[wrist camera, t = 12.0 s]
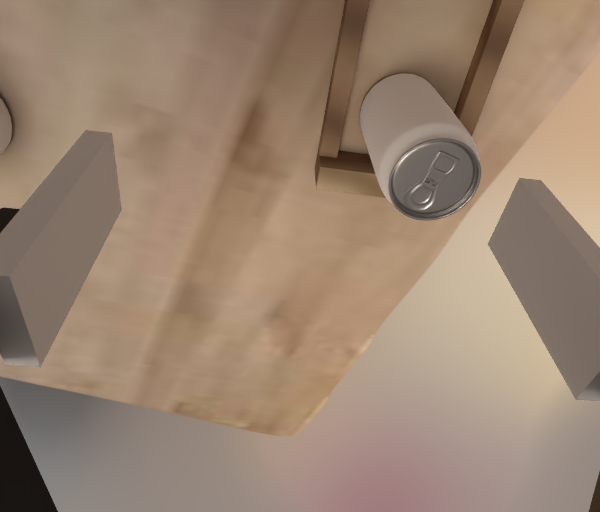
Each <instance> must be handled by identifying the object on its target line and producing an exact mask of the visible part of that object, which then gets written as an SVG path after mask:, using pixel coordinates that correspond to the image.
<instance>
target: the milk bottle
mask: <svg viewBox="0 0 600 512" xmlns="http://www.w3.org/2000/svg"><path fill="white" fill-rule="evenodd" d="M11 136H12V122H11V117H10V114H9V111H8V109H7V107H6V106H5V104H4V102H3V100H2V99H1V98H0V154H1V153H2V152H3V151H4V150H5V149H6V148H7V147H8V145H9V143H10V140H11Z"/></svg>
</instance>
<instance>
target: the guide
mask: <svg viewBox="0 0 600 512" xmlns="http://www.w3.org/2000/svg"><path fill="white" fill-rule="evenodd" d="M369 2H370V0H345V5H344V10H343V16H342V21H341V27H340V32H339V38H338V43H337V49H336V54H335V60H334V65H333V71H332V77H331V82H330V88H329V93H328V99H327V104H326V110H325V115H324V121H323V126H322V132H321V137H320V143H319V148H318V154H317V159H316V165H315V179H316V189H321V190H329V191H337V192H345V193H353V194H361V195H369V196H376V197H384V198H386V197H385V196H384V194H383V192H382V190H381V188H380V186H379V183H378V180H377V177H376V174H375V171H374V168H373V165H372V162H371V158H370V155H366V154H358V153H351V152H343V151H339V146H340V141H341V136H342V131H343V127H344V122H345V117H346V112H347V107H348V103H349V98H350V93H351V88H352V84H353V79H354V74H355V69H356V64H357V60H358V55H359V50H360V45H361V41H362V36H363V31H364V26H365V21H366V17H367V12H368V7H369ZM523 2H524V0H493V3H492V6H491V9H490V12H489V15H488V17H487V20H486V23H485V26H484V29H483V32H482V35H481V37H480V40H479V43H478V46H477V49H476V52H475V55H474V57H473V60H472V63H471V66H470V69H469V72H468V75H467V77H466V80H465V83H464V86H463V89H462V92H461V94H460V97H459V100H458V103H457V106H456V109H455V112H454V114H455V115H456V116H457V118H458V119H459V120H460V122H461V123H462V124H463V126H464V127H465V128H466V130H467V131H468V132H469V134H470V135H471V136H472V134H473V132H474V129H475V127H476V124H477V121H478V119H479V116H480V114H481V111H482V108H483V106H484V103H485V101H486V98H487V95H488V93H489V90H490V88H491V85H492V83H493V80H494V77H495V75H496V72H497V70H498V67H499V64H500V62H501V59H502V57H503V54H504V51H505V49H506V46H507V44H508V41H509V38H510V36H511V33H512V31H513V28H514V26H515V23H516V20H517V18H518V15H519V13H520V10H521V7H522V5H523Z"/></svg>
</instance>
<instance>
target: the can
mask: <svg viewBox="0 0 600 512" xmlns="http://www.w3.org/2000/svg"><path fill="white" fill-rule="evenodd" d="M360 125H361V129H362V133H363V136H364V139H365V142H366V146H367V149H368V152H369V155H370V158H371V162H372V165H373V168H374V171H375V174H376V177H377V180H378V183H379V186H380V188H381V190H382V192H383V194H384V196H385V197H386V198H387V199H388V201H389V202H390V203H392V204H393V205H394V206H395V207H396V208H397V209H398V210H399V211H400V212H401V213H403V214H404V215H406V216H408V217H410V218H413V219H417V220H436V219H440V218H444V217H446V216H449V215H451V214H453V213H455V212H456V211H458V210H459V209H461V208H462V207H463V206H464V205H466V204H467V203H468V202H469V200H470V199H471V198H472V197H473V195H474V194H475V192H476V190H477V188H478V185H479V182H480V177H481V167H480V162H479V152H478V148H477V146H476V144H475V141H474V140H473V138H472V136H471V135H470V134H469V132H468V131H467V130H466V128H465V127H464V126H463V124H462V123H461V122H460V120H459V119H458V118H457V116H456V115H455V114H454V113H453V111H452V110H451V109H450V107H449V106H448V105H447V104H446V102H445V101H444V100H443V99H442V97H441V96H440V95H439V94H438V92H437V91H436V90H435V89H434V87H433V86H432V85H431V84H430V83H429V82H428V81H426V80H425V79H423V78H422V77H420V76H417V75H414V74H407V73H403V74H396V75H392V76H389V77H387V78H385V79H383V80H381V81H380V82H378V83H377V84H376V85H375V86H374V87H373V88H372V89H371V90H370V91H369V92H368V94H367V95H366V97H365V99H364V101H363V103H362V106H361V110H360Z"/></svg>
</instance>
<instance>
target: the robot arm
mask: <svg viewBox="0 0 600 512" xmlns="http://www.w3.org/2000/svg"><path fill="white" fill-rule="evenodd" d="M120 211H121V201H120V193H119V185H118V177H117V170H116V162H115V154H114V146H113V138H112V133H106V132H97V131H88V130H86V131H85V132H84V133H83V134H82V135H81V137H80V138H79V139H78V140H77V141H76V143H75V144H74V145H73V146H72V147H71V149H70V150H69V151H68V152H67V153H66V155H65V156H64V157H63V158H62V159H61V161H60V162H59V163H58V164H57V165H56V167H55V168H54V169H53V170H52V172H51V173H50V174H49V175H48V176H47V178H46V179H45V180H44V181H43V182H42V184H41V185H40V186H39V187H38V188H37V190H36V191H35V192H34V193H33V194H32V196H31V197H30V198H29V199H28V200H27V202H26V203H25V204H24V205H23V206H22V208H21V209H12V208H2V209H0V353H1V356H2V358H3V360H4V363H5V365H18V366H34V367H41V365H42V363H43V361H44V359H45V357H46V355H47V353H48V351H49V349H50V347H51V346H52V344H53V342H54V340H55V338H56V336H57V334H58V332H59V330H60V328H61V326H62V324H63V322H64V320H65V318H66V316H67V314H68V312H69V311H70V309H71V307H72V305H73V303H74V301H75V299H76V297H77V295H78V293H79V291H80V289H81V287H82V285H83V283H84V281H85V279H86V277H87V275H88V274H89V272H90V270H91V268H92V266H93V264H94V262H95V260H96V258H97V256H98V254H99V252H100V250H101V248H102V246H103V244H104V242H105V240H106V239H107V237H108V235H109V233H110V231H111V229H112V227H113V225H114V223H115V221H116V219H117V217H118V215H119V213H120ZM488 245H489V246H490V249H491V250H492V252H493V254H494V255H495V257H496V259H497V261H498V263H499V265H500V266H501V268H502V270H503V272H504V273H505V275H506V277H507V279H508V280H509V282H510V284H511V286H512V288H513V289H514V291H515V292H516V294H517V296H518V298H519V300H520V302H521V303H522V305H523V307H524V309H525V311H526V312H527V314H528V316H529V318H530V319H531V321H532V323H533V325H534V327H535V328H536V330H537V332H538V333H539V335H540V337H541V339H542V341H543V342H544V344H545V346H546V348H547V349H548V351H549V353H550V355H551V356H552V358H553V360H554V362H555V364H556V365H557V367H558V369H559V371H560V373H561V374H562V376H563V378H564V380H565V381H566V383H567V385H568V387H569V388H570V390H571V392H572V394H573V396H574V397H575V399H576V400H591V401H600V248H599V247H598V245H597V244H596V243H595V242H594V241H593V240H592V239H591V237H590V236H589V235H588V234H587V233H586V232H585V231H584V229H583V228H582V227H581V226H580V225H579V224H578V222H577V221H576V220H575V219H574V218H573V217H572V216H571V214H570V213H569V212H568V211H567V210H566V209H565V208H564V206H563V205H562V204H561V203H560V202H559V201H558V199H557V198H556V197H555V196H554V195H553V194H552V192H551V191H550V190H549V189H548V188H547V187H546V186H545V184H544V183H543V182H542V181H541V180H533V179H523V178H519V180H518V182H517V184H516V186H515V188H514V190H513V192H512V194H511V197H510V199H509V201H508V203H507V205H506V207H505V209H504V211H503V213H502V215H501V218H500V220H499V222H498V224H497V226H496V228H495V230H494V232H493V234H492V236H491V239H490V241H489V243H488ZM0 512H58V511H57V509H56V507H55V504H54V502H53V500H52V498H51V496H50V494H49V491H48V489H47V487H46V485H45V483H44V480H43V478H42V476H41V475H40V472H39V470H38V468H37V465H36V463H35V461H34V459H33V456H32V454H31V452H30V450H29V448H28V446H27V443H26V441H25V439H24V437H23V435H22V432H21V430H20V428H19V426H18V424H17V422H16V419H15V417H14V415H13V413H12V411H11V408H10V406H9V404H8V402H7V400H6V398H5V395H4V393H3V391H2V389H1V387H0ZM589 512H600V472H599V476H598V480H597V484H596V487H595V491H594V494H593V498H592V502H591V505H590V509H589Z"/></svg>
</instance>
